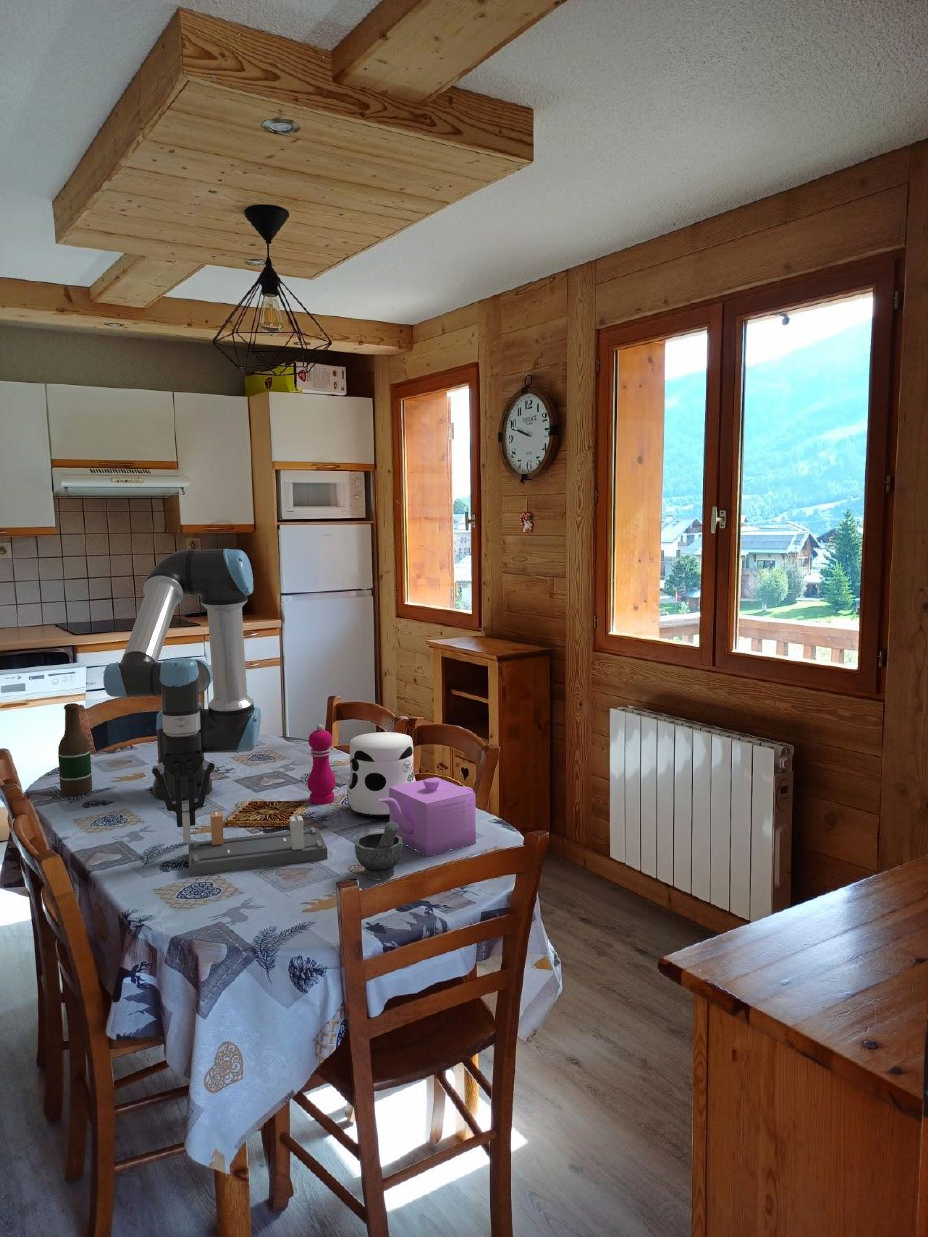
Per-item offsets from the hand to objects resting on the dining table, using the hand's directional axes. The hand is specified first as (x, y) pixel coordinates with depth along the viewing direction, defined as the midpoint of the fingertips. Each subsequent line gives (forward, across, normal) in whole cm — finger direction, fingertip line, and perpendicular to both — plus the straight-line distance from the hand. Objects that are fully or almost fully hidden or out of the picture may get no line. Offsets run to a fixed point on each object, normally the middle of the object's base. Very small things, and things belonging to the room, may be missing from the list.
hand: (187, 840), depth 189 cm
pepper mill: (+4, +33, +30) cm, 45 cm away
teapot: (+4, +51, -7) cm, 52 cm away
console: (+4, +14, -4) cm, 15 cm away
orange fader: (+1, +6, 0) cm, 6 cm away
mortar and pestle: (+4, +37, -22) cm, 44 cm away
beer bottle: (+4, -28, +58) cm, 65 cm away
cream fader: (+1, +22, -8) cm, 24 cm away
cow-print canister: (+4, +46, +17) cm, 49 cm away
